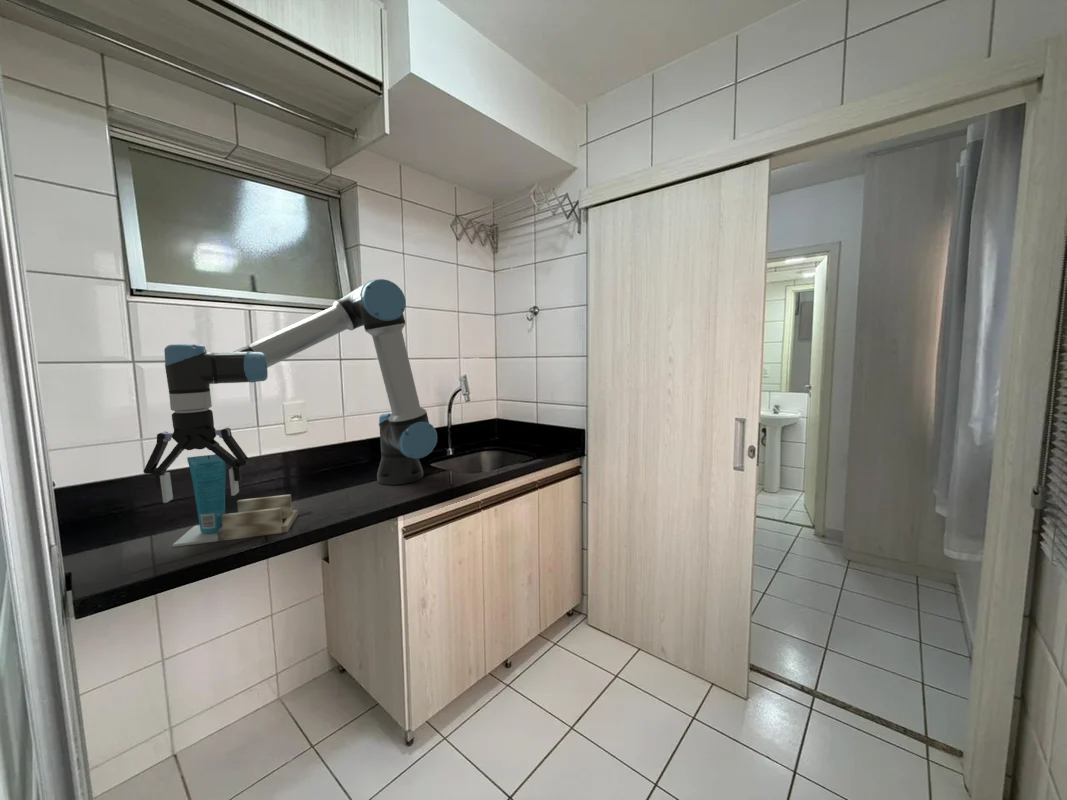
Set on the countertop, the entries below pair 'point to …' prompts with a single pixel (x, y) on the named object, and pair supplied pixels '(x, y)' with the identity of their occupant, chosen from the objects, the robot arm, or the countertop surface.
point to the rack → (258, 518)
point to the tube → (209, 490)
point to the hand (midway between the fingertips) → (202, 497)
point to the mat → (195, 537)
